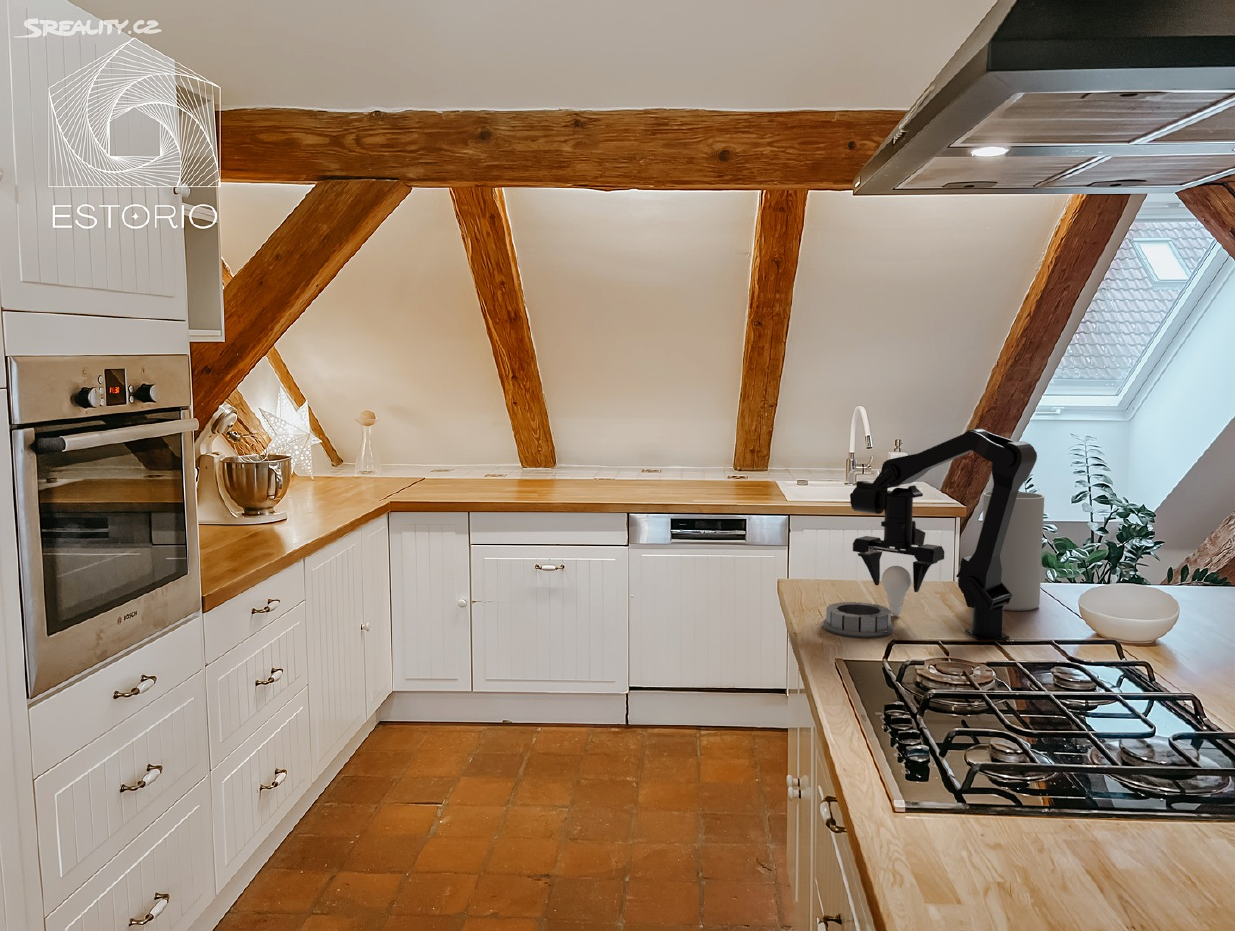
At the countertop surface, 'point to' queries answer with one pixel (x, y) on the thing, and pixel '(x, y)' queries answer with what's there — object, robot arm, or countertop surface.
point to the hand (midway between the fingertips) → (896, 588)
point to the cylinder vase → (1022, 551)
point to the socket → (858, 620)
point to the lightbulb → (896, 587)
